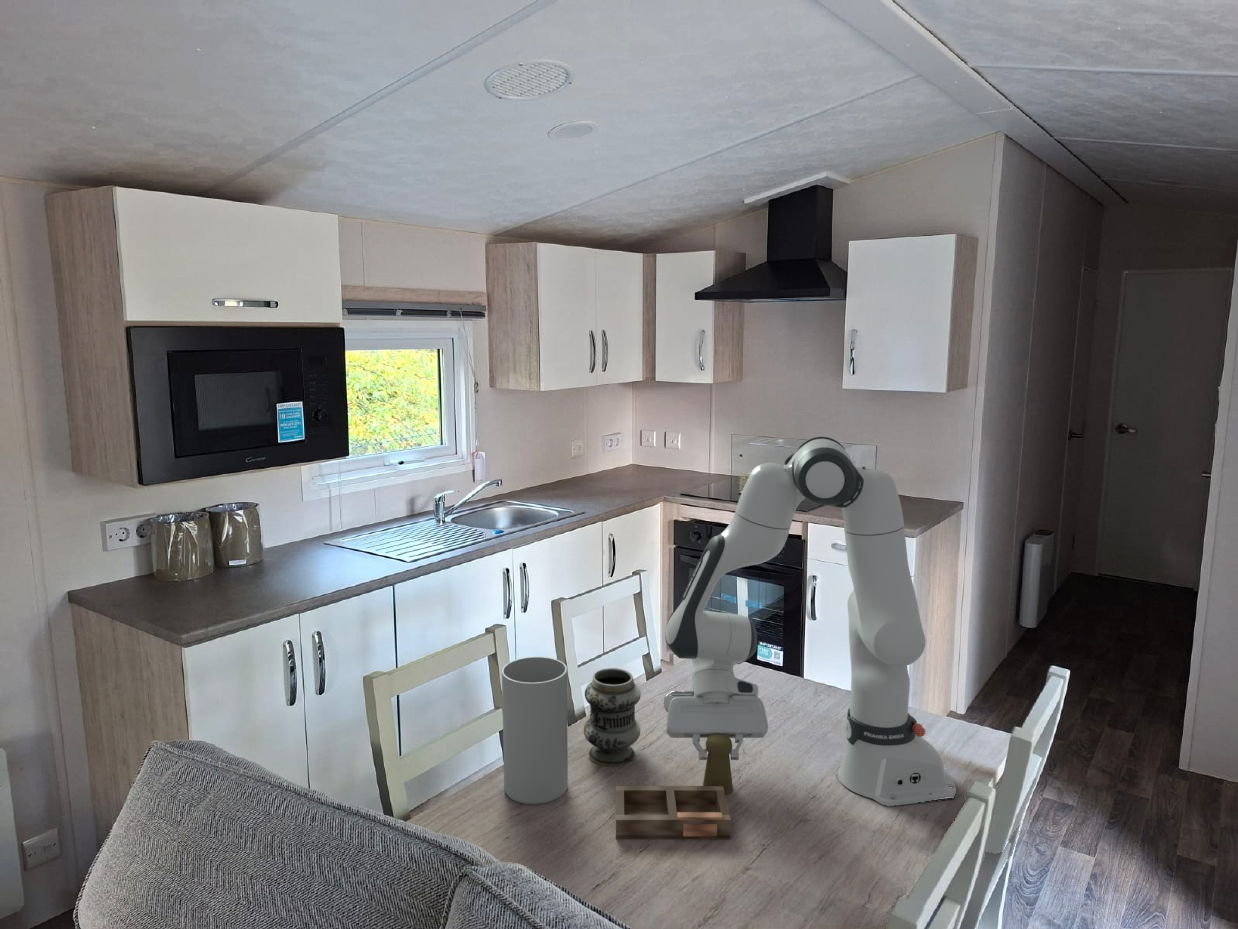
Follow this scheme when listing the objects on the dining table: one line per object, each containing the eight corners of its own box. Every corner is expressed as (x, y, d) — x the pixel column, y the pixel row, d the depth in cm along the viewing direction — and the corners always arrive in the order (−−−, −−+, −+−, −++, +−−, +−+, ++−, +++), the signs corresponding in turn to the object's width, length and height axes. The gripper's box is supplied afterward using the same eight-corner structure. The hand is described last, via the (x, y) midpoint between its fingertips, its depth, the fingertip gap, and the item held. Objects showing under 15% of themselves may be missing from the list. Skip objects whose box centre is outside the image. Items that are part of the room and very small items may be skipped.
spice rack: (722, 804, 163) (723, 783, 162) (730, 840, 152) (731, 818, 151) (615, 804, 163) (615, 783, 162) (615, 840, 152) (616, 818, 151)
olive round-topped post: (732, 798, 165) (733, 746, 163) (700, 795, 166) (702, 743, 164) (734, 782, 171) (735, 731, 169) (704, 778, 172) (705, 728, 170)
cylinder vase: (493, 800, 164) (490, 678, 160) (519, 767, 176) (517, 653, 172) (554, 811, 161) (552, 687, 156) (576, 777, 172) (576, 661, 168)
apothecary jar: (617, 776, 173) (617, 693, 170) (572, 757, 180) (571, 677, 177) (651, 752, 182) (652, 673, 179) (607, 735, 190) (607, 659, 186)
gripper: (664, 685, 172) (666, 754, 164) (765, 685, 172) (772, 754, 164) (663, 696, 177) (665, 764, 169) (761, 696, 177) (767, 764, 169)
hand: (719, 759), depth 167 cm, fingers closed on olive round-topped post, 5 cm apart
